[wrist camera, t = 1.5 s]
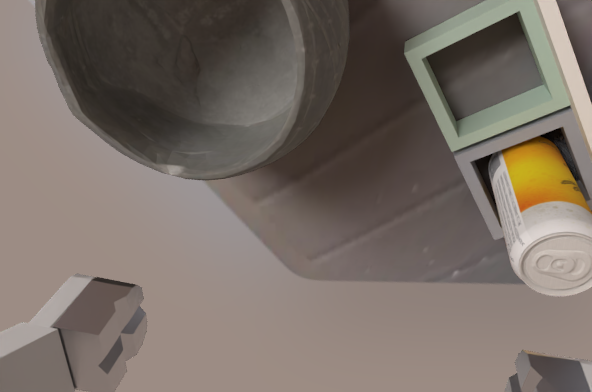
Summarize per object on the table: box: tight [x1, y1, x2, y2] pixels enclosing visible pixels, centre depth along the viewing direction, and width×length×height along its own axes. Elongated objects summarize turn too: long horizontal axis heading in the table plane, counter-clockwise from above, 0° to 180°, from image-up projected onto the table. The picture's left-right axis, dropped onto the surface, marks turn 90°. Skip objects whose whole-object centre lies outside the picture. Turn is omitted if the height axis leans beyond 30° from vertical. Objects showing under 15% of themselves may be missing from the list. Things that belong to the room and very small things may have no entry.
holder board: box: [404, 0, 592, 240], centre depth 41 cm, size 10×20×6 cm, turn 31°
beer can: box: [488, 136, 592, 297], centre depth 39 cm, size 6×6×15 cm
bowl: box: [35, 0, 350, 180], centre depth 37 cm, size 21×21×15 cm
